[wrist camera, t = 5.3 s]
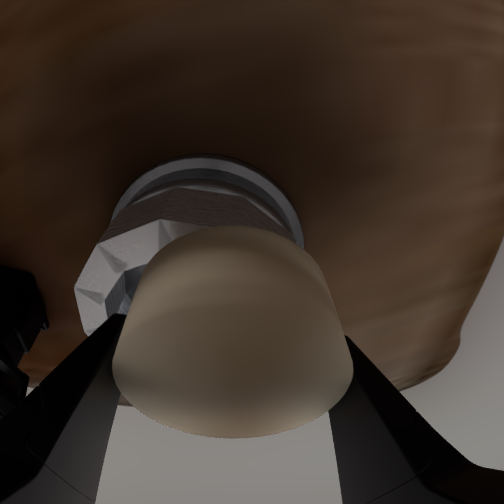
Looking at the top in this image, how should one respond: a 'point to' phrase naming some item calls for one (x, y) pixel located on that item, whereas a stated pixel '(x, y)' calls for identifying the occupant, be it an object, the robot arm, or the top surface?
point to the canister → (176, 223)
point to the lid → (232, 336)
